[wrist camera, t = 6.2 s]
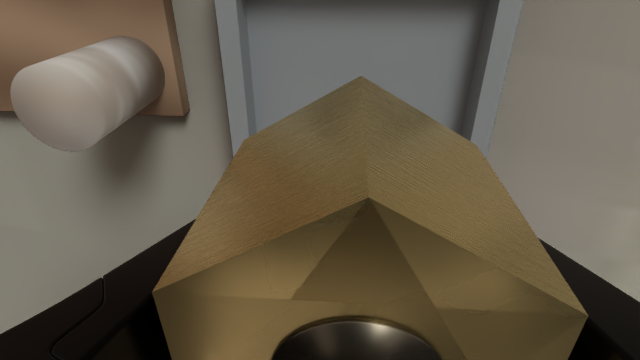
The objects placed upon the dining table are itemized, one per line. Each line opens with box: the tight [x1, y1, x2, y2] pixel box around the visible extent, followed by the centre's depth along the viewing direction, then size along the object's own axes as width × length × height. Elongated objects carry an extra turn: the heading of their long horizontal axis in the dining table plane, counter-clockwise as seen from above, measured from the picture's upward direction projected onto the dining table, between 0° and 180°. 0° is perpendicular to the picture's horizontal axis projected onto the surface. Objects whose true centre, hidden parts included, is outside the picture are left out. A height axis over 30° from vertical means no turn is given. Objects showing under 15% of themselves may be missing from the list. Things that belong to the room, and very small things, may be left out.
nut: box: [152, 76, 588, 360], centre depth 8 cm, size 6×6×5 cm
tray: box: [215, 0, 523, 158], centre depth 17 cm, size 11×11×2 cm
